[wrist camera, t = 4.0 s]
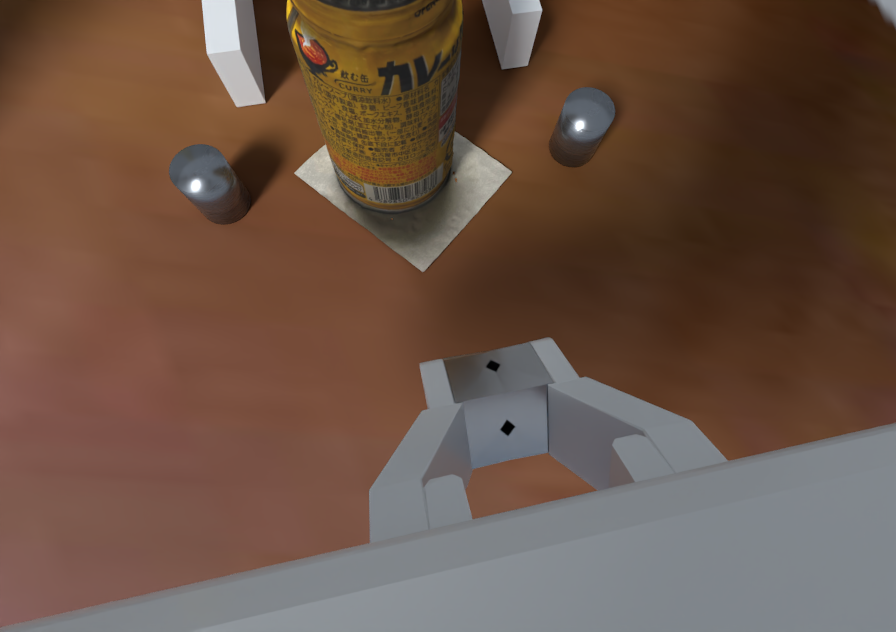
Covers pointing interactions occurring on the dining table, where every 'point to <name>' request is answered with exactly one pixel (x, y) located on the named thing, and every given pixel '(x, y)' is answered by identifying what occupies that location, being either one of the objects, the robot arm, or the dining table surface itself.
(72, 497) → the dining table surface
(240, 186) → the cylinder
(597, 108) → the cylinder
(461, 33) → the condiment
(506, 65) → the holder
